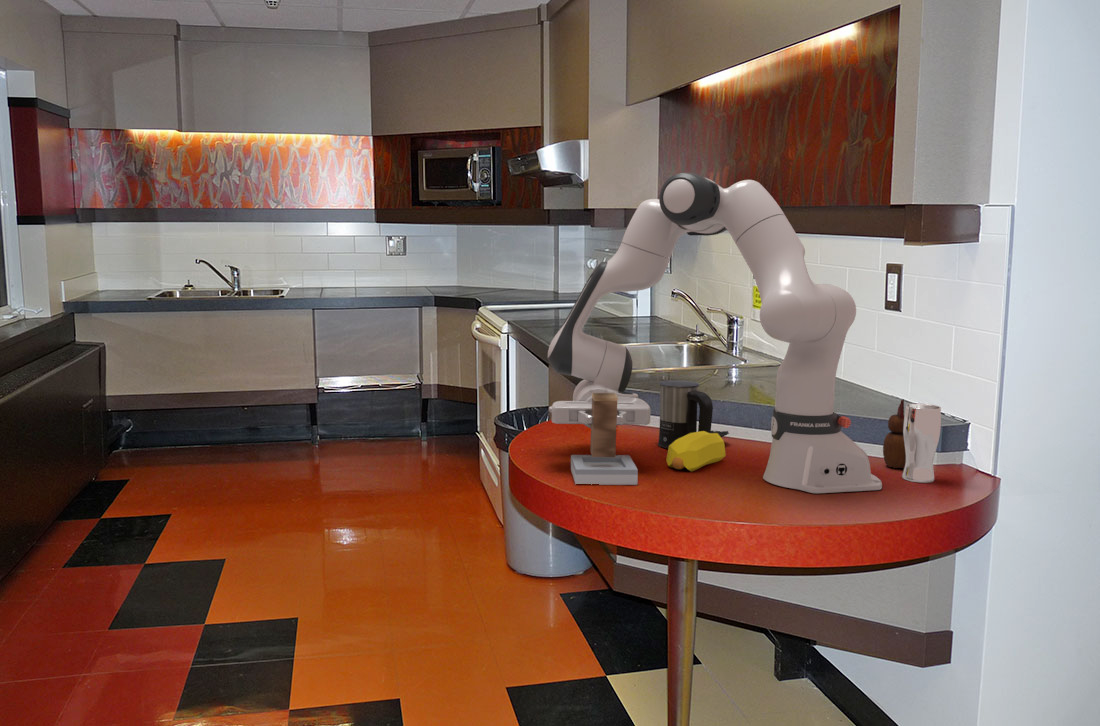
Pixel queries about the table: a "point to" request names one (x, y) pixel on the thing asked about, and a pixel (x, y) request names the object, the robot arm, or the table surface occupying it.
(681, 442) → the hot dog
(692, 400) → the milk frother
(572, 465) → the plinth base
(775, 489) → the table surface
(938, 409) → the beer glass
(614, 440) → the column block
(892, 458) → the wooden figurine
